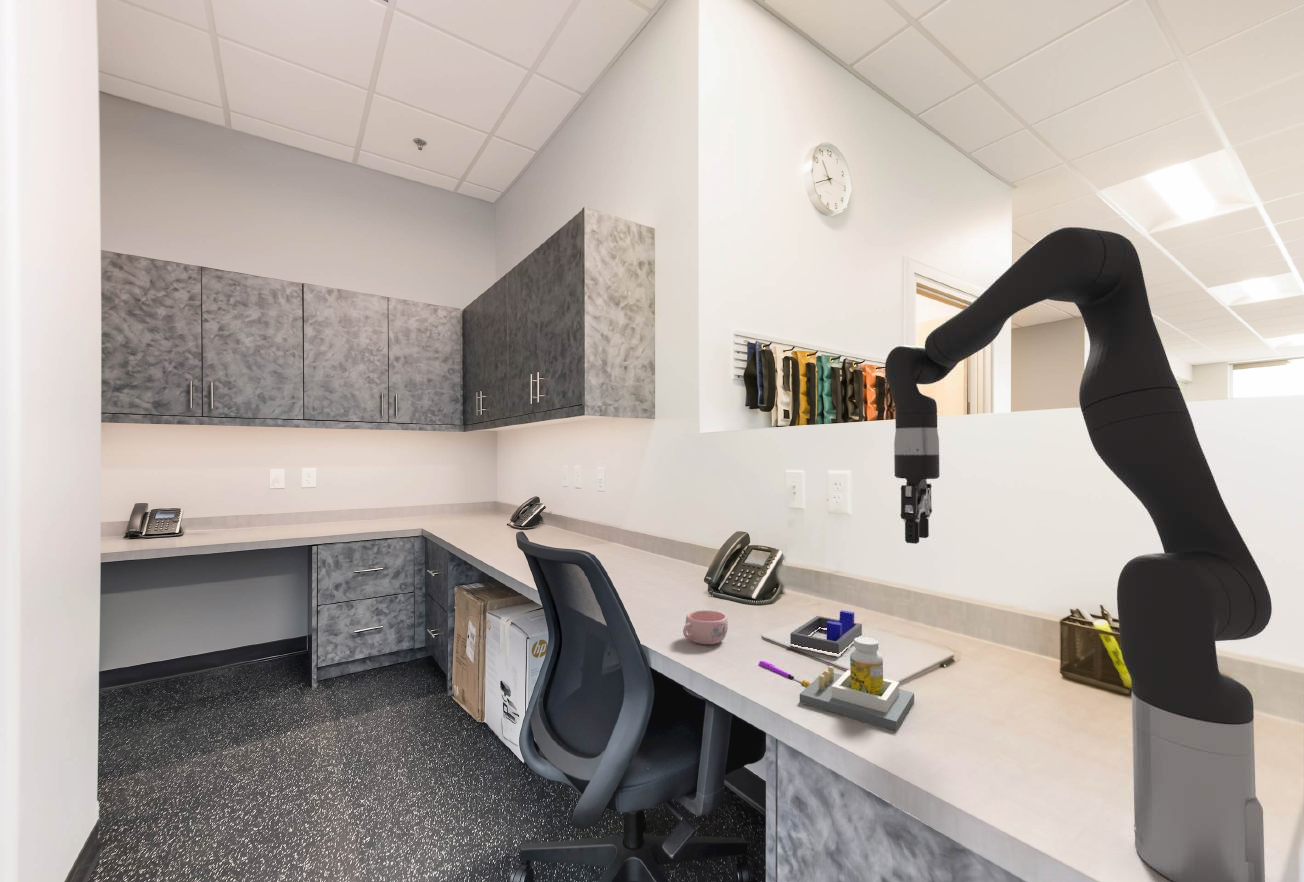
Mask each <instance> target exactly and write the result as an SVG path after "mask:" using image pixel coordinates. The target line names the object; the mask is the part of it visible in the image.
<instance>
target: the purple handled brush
mask: <svg viewBox="0 0 1304 882" xmlns="http://www.w3.org/2000/svg"><path fill="white" fill-rule="evenodd" d="M758 664H759V666H761V668H765V669H767V670H768V671H769V670H770V671H772V672H774V673H775V674H778V675H780V676H783V677H784V678H786V679H790V680H794V681H797V682H799V683H801V685H802V686H804V687H805V688H807V687H808V686H809V685H810V684H811V683H810V682H809V681H807V680H805V679H803V680H802V681H801V680H799V679H796V678H795V676H794V675H793V674H790V673H789V672H787V671H784V670H783V669H780V668H778V667H776V665H775V664H773V663H771V662H768V661H765V660H760V661H759V662H758Z"/></svg>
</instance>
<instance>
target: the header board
mask: <svg viewBox="0 0 1304 882" xmlns="http://www.w3.org/2000/svg"><path fill="white" fill-rule="evenodd" d="M834 668H835V667H834V666H832V665H830V666H829V665H828V666H827V670H825V669H824V670H823V672H822V673H821V674H819V675H818V676H817V677H816V679H814V680H813V681H812V682H811V683H810V685H809V686H808V687H805V688H804V690H802V691H801V692H799V703H800V704H804V705H807V706H810V707H814V708H817V709H820V710H821V709H822V710H824V711H827V712H830V713H833V714H838V715H841V716H844V717H847V718H851V719H854V720H858V721H862V722H865V723H869V724H871V725H875V726H879V727H882V728H885V729H888V730H891V731H898V728H900V725H901V724H902V722H903V720H904V719H905V717H906V716H907V714H908V712H909V710H910V709H911V708H912V706H913V704H914V702H915V692H913V691H909V690H905V689H901V688H900V682H899V681H896V680H891V679H887V678H884V677H883V695H882V696H877V695H873V694H869V693H865V692H861V691H858V690H854V689H851V675H850V671H851V670H850V669H847V670H846V671H845V672H844V673H843V674H840V673H837V672H835V669H834Z"/></svg>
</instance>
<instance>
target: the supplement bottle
mask: <svg viewBox="0 0 1304 882" xmlns="http://www.w3.org/2000/svg"><path fill="white" fill-rule="evenodd" d="M853 646H854V647H853V648H854V649H852V650H851V652H850V655H849V661H850V663H849V664H850V668H849V670H851V671H850V675H851V689H854V690H858V691H861V692H865V693H869V694H873V695H877V696H882V695H883V678H884V659H883V658H884V657H883V656H882V654H881V653H880V652H878V651H879V649H880V647H879V641H878V640H877V639H875V638H871V637H866V636H862V637H857V638H855V639H854V644H853Z"/></svg>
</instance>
